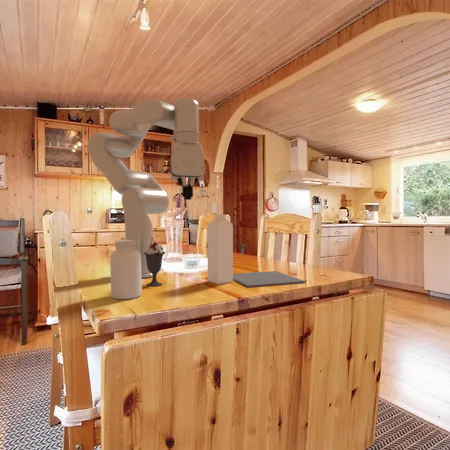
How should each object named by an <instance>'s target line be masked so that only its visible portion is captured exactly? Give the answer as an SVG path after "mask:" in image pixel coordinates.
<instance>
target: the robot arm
mask: <svg viewBox="0 0 450 450" xmlns="http://www.w3.org/2000/svg"><path fill="white" fill-rule="evenodd" d="M199 114H200V108H199V102H198V101H196V99H193V98H189V97H188V98H187V97H183V98H179V99H176V100H175V102H174V104H171V103H168V102H166V101H162V100H159V99H145V100H140V101H137V103H136V104H135V105H134V106H133V108H127V109H122V110H117V111H114V112H113V113H111V114H110V117H109V119H108V123H109V127H110V128H111V129H112V130H113V131H114V133H117V134H119V135H117V134H112V133H108V132H96V133H92V134H91V135H90V137H89V138H88V141H87V151H88V154H89V157H90V160H91V162H93V164H94V165H95V167H96V168H97V169H98V170H99V171H100V172H101V173H102V174H103V175H104V177H105V178H106V180H107V181H108V183H109V184H110V185H111V186H112V187H113V189H114V190H115V191H116V192H117V193H118V194H119V195H121V207H122V209H123V215H124V236H125V237H124V238H125V239H124V240H135V241H136V246H135V247H136V248H135V250H137V251H139V252H140V254H141V279H145V278H146V279H147V278H151V277H152V278H153V275H152V273H150V272H149V271H148V268H147V262H146V256H145V254H144V252H147V250H148V248H149V247H150V245H151V240H152V239H151V238H152V237H153V231H154V230H153V223H152V220H151V218H150V216H149V215H159V214H163V213H165V212H166V211H167V210H168V208H169V204H170V200H169V199H170V198H169V196H168V193H167V192H166V190H165V189H164V188H163V187H162V186H161V184H159V182H158V181H157V179H155V178H154V177H153V176H152V175H151V174H150V173H148V172H145V171H140V170H138V171H137V170H133V169H130V168H128V166H126V165H125V163H124V162H123V161H122V160H121V159H119V158H122V159H128V158H130V157H132V156H133V154H134V153H135V152H136V150H138V148H139V146H140V145H141V143H142V142H143V140H145V138H146V136H147V134H148V132H149V130H150V129H151V127H152V125H154V126H157V127H160V128H161V127H162V128H166V129H168V130H172V131H174V134H172V135H169V141H173V142H174V143H172V147H171V155H170V156H171V157H170V177H169V179H170V180H171V181H173V182H177V183H178V184H179V185H180V186H181V188H182V191H181V192H182V193H181V194H182V198H183V199H184V201H185V200H186V201H189V200H192V198H193V197H194V194H193V193H194V186H195V185H196V184H197V183H200V182H202V181H205V176H204V175H205V173H206V172H205V171H206V170H205V169H206V166H205V157H204V156H205V155H204V149H203V145H202V144H200V119H199V118H200V115H199ZM123 135H124V136H123ZM186 178H188V184H187V179H186ZM153 238H154V237H153ZM153 243H154V239H153V240H152V244H153ZM156 276H158V273H157V274H156Z"/></svg>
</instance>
